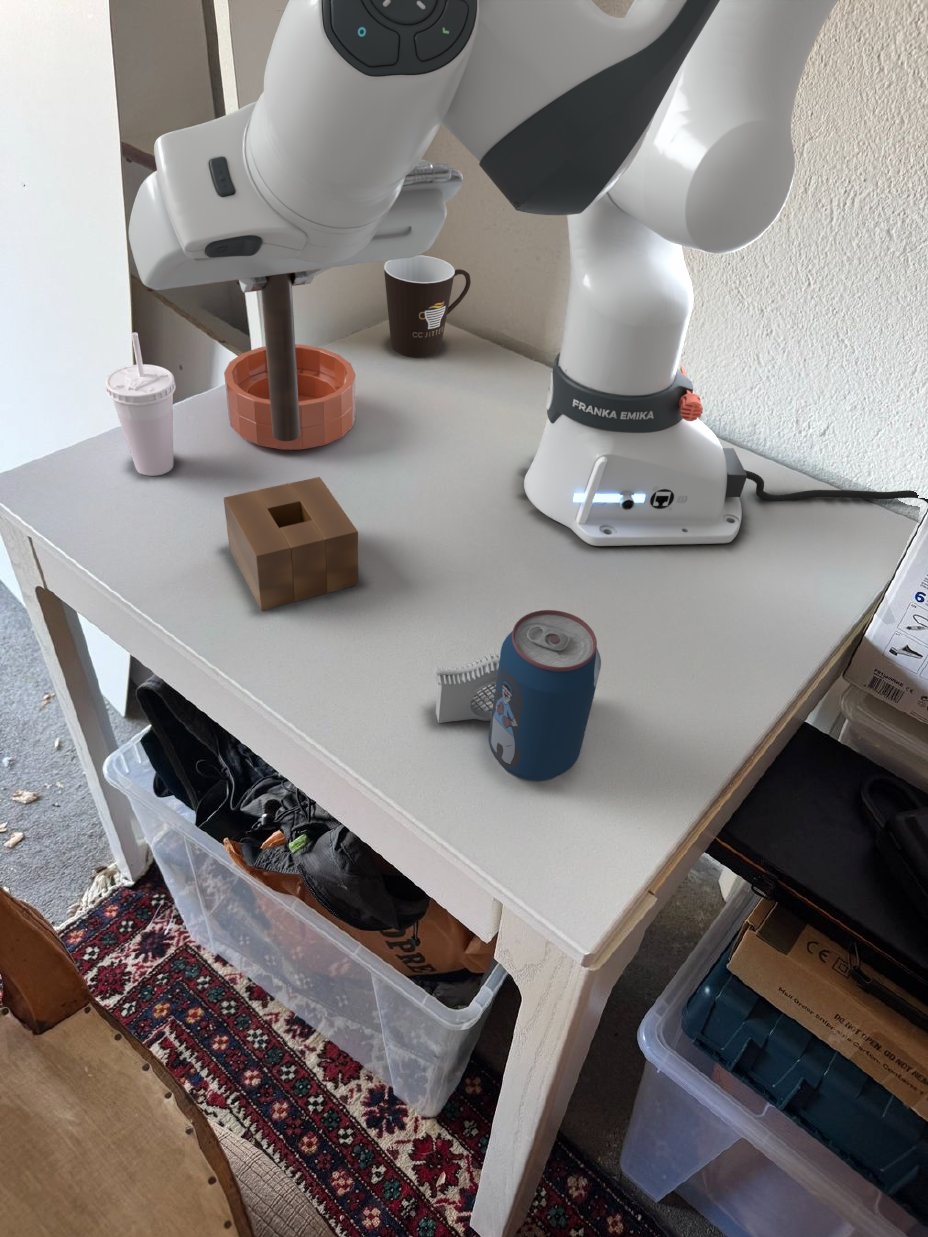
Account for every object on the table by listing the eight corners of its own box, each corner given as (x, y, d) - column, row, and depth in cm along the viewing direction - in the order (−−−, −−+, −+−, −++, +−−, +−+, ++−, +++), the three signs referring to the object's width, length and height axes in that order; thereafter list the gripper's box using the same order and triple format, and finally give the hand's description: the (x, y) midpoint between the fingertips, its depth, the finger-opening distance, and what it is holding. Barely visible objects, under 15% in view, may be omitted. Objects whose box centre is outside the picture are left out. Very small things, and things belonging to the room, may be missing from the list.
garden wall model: (575, 694, 75) (588, 641, 71) (582, 711, 74) (595, 658, 70) (430, 711, 72) (434, 657, 69) (435, 728, 71) (439, 674, 67)
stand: (321, 529, 89) (319, 476, 85) (358, 584, 83) (358, 531, 79) (229, 551, 85) (223, 497, 81) (261, 611, 80) (256, 556, 76)
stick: (302, 428, 76) (286, 136, 61) (297, 442, 74) (279, 146, 59) (275, 426, 76) (253, 133, 61) (270, 440, 74) (245, 143, 59)
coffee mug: (387, 362, 115) (389, 283, 108) (378, 331, 121) (379, 254, 114) (478, 360, 117) (485, 282, 111) (464, 330, 123) (470, 254, 117)
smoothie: (195, 452, 97) (178, 325, 87) (175, 486, 92) (154, 356, 83) (135, 445, 97) (111, 317, 88) (111, 479, 92) (83, 347, 83)
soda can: (589, 738, 72) (619, 624, 64) (559, 803, 67) (587, 688, 59) (507, 706, 73) (525, 591, 65) (472, 767, 69) (487, 651, 61)
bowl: (362, 398, 108) (363, 350, 104) (344, 462, 98) (343, 411, 94) (246, 386, 108) (242, 338, 104) (215, 449, 98) (209, 398, 94)
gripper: (459, 115, 58) (391, 221, 71) (125, 137, 50) (117, 252, 63) (487, 213, 58) (414, 301, 71) (159, 250, 50) (144, 341, 63)
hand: (272, 278), depth 67 cm, fingers closed on stick, 2 cm apart
